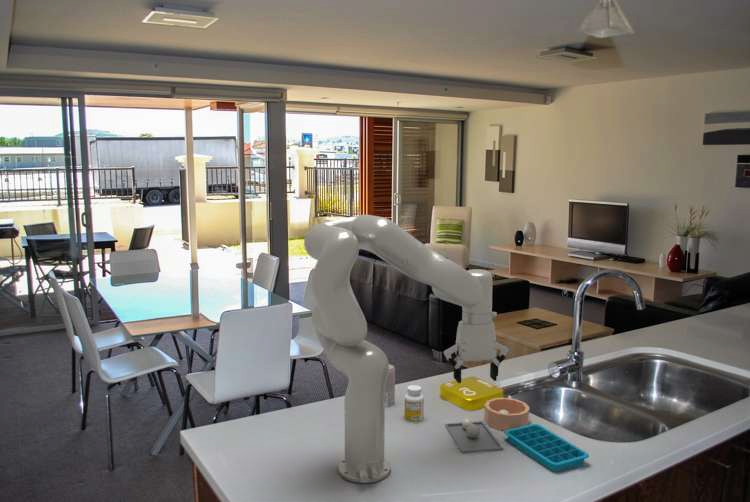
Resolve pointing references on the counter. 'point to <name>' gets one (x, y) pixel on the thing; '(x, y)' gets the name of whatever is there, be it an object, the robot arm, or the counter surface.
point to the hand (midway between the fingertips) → (475, 380)
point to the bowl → (503, 420)
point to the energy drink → (390, 387)
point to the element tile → (469, 393)
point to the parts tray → (470, 445)
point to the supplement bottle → (414, 404)
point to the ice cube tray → (546, 447)
